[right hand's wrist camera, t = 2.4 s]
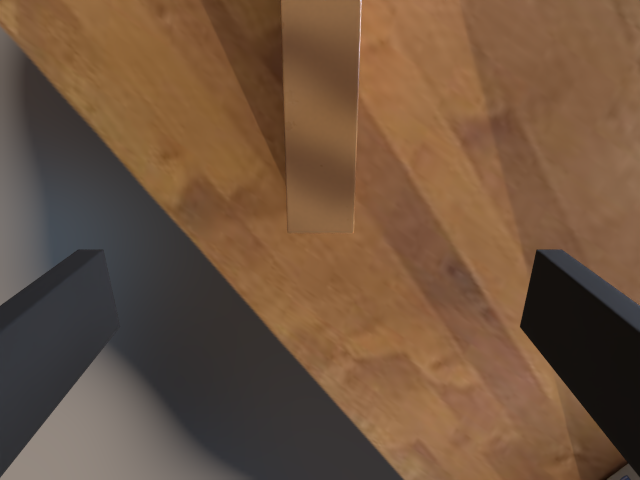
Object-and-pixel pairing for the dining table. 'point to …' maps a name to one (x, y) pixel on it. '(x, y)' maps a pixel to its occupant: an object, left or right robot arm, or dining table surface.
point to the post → (320, 112)
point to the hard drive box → (625, 474)
